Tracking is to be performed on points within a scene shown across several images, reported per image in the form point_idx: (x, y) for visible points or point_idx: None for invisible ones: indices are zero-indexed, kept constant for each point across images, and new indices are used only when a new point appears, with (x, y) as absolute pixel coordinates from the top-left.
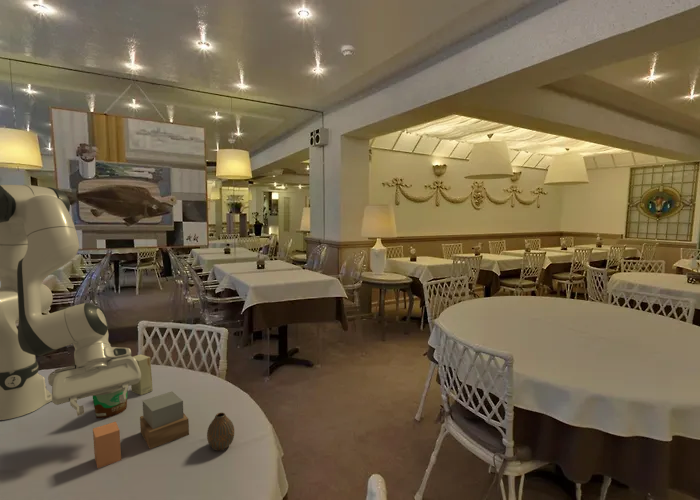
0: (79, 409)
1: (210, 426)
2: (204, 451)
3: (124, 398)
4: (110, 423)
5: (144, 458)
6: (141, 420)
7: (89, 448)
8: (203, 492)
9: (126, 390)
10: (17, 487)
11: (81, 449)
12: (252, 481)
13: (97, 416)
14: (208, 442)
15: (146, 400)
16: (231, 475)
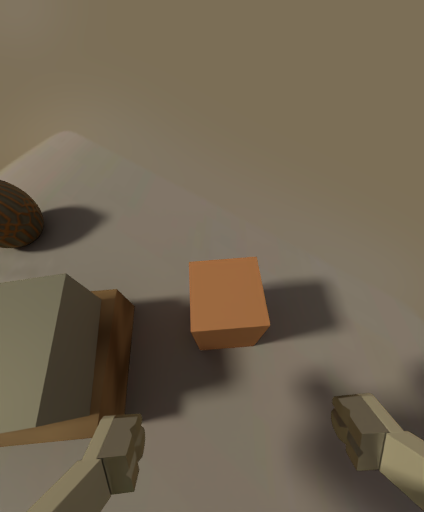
0: (370, 407)
1: (4, 195)
2: (58, 234)
3: (110, 419)
4: (210, 326)
5: (155, 275)
6: (102, 402)
7: (271, 421)
8: (117, 157)
9: (54, 488)
10: (404, 323)
11: (294, 432)
12: (60, 147)
13: None
14: (39, 220)
15: (20, 413)
16: (70, 166)
